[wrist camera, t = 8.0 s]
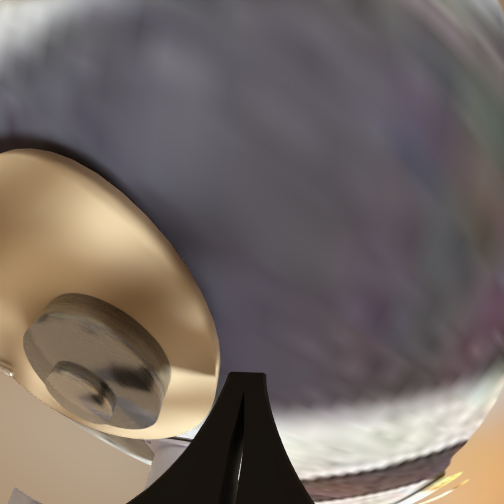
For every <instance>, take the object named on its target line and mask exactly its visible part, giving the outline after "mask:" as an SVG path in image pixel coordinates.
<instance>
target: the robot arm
mask: <svg viewBox="0 0 504 504" xmlns="http://www.w3.org/2000/svg"><path fill="white" fill-rule="evenodd" d="M143 440H144V441H145V443H146V444H147V445H148V447H149V448H150V449H151V451H152V452H153V453H154V457H153V461H152V465H151V468H150V472H149V475H148V479H147V482H146V486H145V490H144V491H143V492H142V493H140V494H139V495H138V496H136V497H135V498H134V499H132V500H131V501H129V502H128V503H127V504H315V503H314V502H313V500H312V499H311V497H310V496H309V494H308V493H307V491H306V489H305V488H304V486H303V484H302V483H301V481H300V479H299V477H298V476H297V474H296V472H295V470H294V468H293V466H292V464H291V462H290V460H289V458H288V455H287V453H286V451H285V449H284V446H283V444H282V441H281V438H280V436H279V433H278V430H277V427H276V424H275V421H274V418H273V414H272V411H271V407H270V403H269V398H268V393H267V386H266V374H264V373H251V372H230V373H229V374H228V377H227V380H226V382H225V385H224V387H223V389H222V391H221V393H220V395H219V397H218V400H217V402H216V403H215V405H214V407H213V409H212V411H211V412H210V414H209V416H208V418H207V419H206V421H205V422H204V424H203V425H202V427H201V428H200V430H199V431H198V433H197V434H196V436H195V437H194V439H193V440H192V441H191V442H187V441H180V440H174V439H168V438H163V439H143ZM242 453H243V454H242ZM241 458H242V462H241ZM240 463H241V469H240ZM239 469H240V476H239V483H238V475H239ZM237 485H238V490H237ZM8 504H41V503H40V502H38V501H35V500H34V499H32V498H30V497H29V496H27V495H26V494H24V493H23V492H21V491H19V490H18V489H17V488H14V490H13V492H12V494H11V497H10V499H9V502H8Z"/></svg>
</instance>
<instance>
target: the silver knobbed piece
mask: <svg viewBox="0 0 504 504" xmlns="http://www.w3.org/2000/svg"><path fill="white" fill-rule="evenodd" d="M0 372H1V373H3V374H5V375H7V376H10V377H13V376H14V372H13V370H12V369H9V368H7V367H5V366H3V365H0Z"/></svg>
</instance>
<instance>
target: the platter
mask: <svg viewBox="0 0 504 504" xmlns="http://www.w3.org/2000/svg"><path fill="white" fill-rule="evenodd" d="M67 293H79V294H85V295H89V296H93V297H96V298H98V299H101V300H103V301H106V302H108V303H110V304H112V305H114V306H115V307H117V308H119V309H120V310H122V311H124V312H125V313H126V314H128V315H129V316H131V317H132V318H133V319H135V320H136V321H137V322H138V323H140V324H141V325H142V326H143V327H144V328H145V329H146V330H147V331H148V332H149V333H150V334H151V335H152V336H153V337H154V338H155V339H156V341H157V342H158V343H159V345H160V346H161V347H162V349H163V351H164V352H165V354H166V356H167V358H168V360H169V363H170V367H171V380H170V383H169V386H168V389H167V392H166V395H165V398H164V401H163V405H162V408H161V411H160V414H159V417H158V420H157V421H156V423H155V424H154V425H152V426H151V427H148V428H145V429H137V430H133V429H123V428H118V427H114V426H110V425H107V424H104V425H99V424H94V423H91V422H88V421H85V420H83V419H81V418H79V417H77V416H75V415H74V414H72V413H71V412H69V411H68V410H66V409H65V408H64V407H62V406H61V405H60V404H59V403H58V402H57V401H56V400H55V399H54V398H53V397H52V396H51V395H50V393H49V392H48V390H47V388H46V386H45V384H44V383H43V381H42V380H41V379H40V378H39V377H38V375H37V374H36V373H35V371H34V370H33V368H32V366H31V365H30V363H29V361H28V359H27V357H26V354H25V351H24V347H23V336H24V333H25V332H26V330H27V329H28V328H29V327H30V325H31V324H32V323H33V322H34V321H35V319H36V318H37V317H38V316H39V315H40V314H41V312H42V311H43V310H44V309H45V308H46V307H47V306H48V304H49V303H50V302H51V301H52V300H53V299H54V298H56V297H57V296H60V295H62V294H67ZM220 360H221V359H220V348H219V339H218V336H217V332H216V328H215V324H214V320H213V317H212V315H211V313H210V310H209V308H208V306H207V303H206V301H205V298H204V296H203V294H202V292H201V290H200V289H199V287H198V285H197V283H196V282H195V280H194V278H193V276H192V274H191V273H190V271H189V269H188V268H187V266H186V265H185V263H184V262H183V261H182V259H181V258H180V256H179V255H178V253H177V252H176V251H175V249H174V248H173V246H172V245H171V243H170V242H169V241H168V240H167V239H166V237H165V236H164V235H163V234H162V233H161V232H160V231H159V229H158V228H157V227H156V226H155V225H154V224H153V222H152V221H151V220H150V219H149V218H148V217H147V215H146V214H144V213H143V212H142V211H141V210H140V209H139V208H138V207H137V206H136V205H135V204H134V203H133V202H132V201H131V200H130V199H129V198H128V197H126V196H125V195H124V194H123V193H122V192H121V191H120V190H118V189H117V188H116V187H114V186H113V185H112V184H110V183H109V182H108V181H106V180H105V179H104V178H103V177H101V176H100V175H99V174H97V173H95V172H94V171H92V170H90V169H88V168H87V167H85V166H83V165H81V164H80V163H78V162H76V161H74V160H72V159H70V158H67V157H64V156H62V155H59V154H56V153H54V152H51V151H45V150H39V149H33V148H26V149H13V150H10V151H7V152H4V153H0V365H3V366H5V367H7V368H9V369H12V370H13V372H14V376H13V378H14V379H15V380H16V381H17V382H19V384H21V385H22V386H23V387H24V388H25V389H26V390H28V391H29V392H30V393H31V394H33V395H34V396H35V397H37V398H38V399H39V400H41V401H42V402H44V403H45V404H47V405H48V406H50V407H51V408H53V409H54V410H56V411H58V412H59V413H61V414H63V415H65V416H66V417H68V418H70V419H72V420H74V421H76V422H78V423H81V424H83V425H85V426H88V427H90V428H93V429H96V430H99V431H102V432H105V433H108V434H112V435H117V436H121V437H127V438H133V439H163V438H169V437H174V436H177V435H180V434H183V433H185V432H187V431H189V430H191V429H193V428H195V427H196V426H197V425H198V424H199V423H200V422H202V421H203V420H204V418H205V417H206V415H207V414H208V413H209V411H210V409H211V406H212V404H213V401H214V398H215V393H216V388H217V382H218V377H219V369H220Z"/></svg>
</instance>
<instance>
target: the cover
mask: <svg viewBox="0 0 504 504" xmlns="http://www.w3.org/2000/svg"><path fill="white" fill-rule="evenodd" d="M23 347H24V351H25V354H26V357H27V359H28V361H29V363H30V365H31V366H32V368H33V370H34V371H35V373H36V374H37V375H38V377H39V378H40V379H41V380H42V381H43V383H44V384H45V386H46V388H47V390H48V392H49V393H50V395H51V396H52V397H53V398H54V399H55V400H56V401H57V402H58V403H59V404H60V405H61V406H62V407H64V408H65V409H66V410H68V411H69V412H71V413H72V414H74V415H75V416H77V417H79V418H81V419H83V420H85V421H88V422H91V423H94V424H99V425H104V424H107V425H110V426H114V427H118V428H123V429H133V430H137V429H145V428H148V427H151V426H152V425H154V424H155V423H156V421H157V420H158V417H159V414H160V411H161V408H162V405H163V401H164V398H165V395H166V392H167V389H168V386H169V383H170V380H171V367H170V363H169V360H168V358H167V356H166V354H165V352H164V351H163V349H162V347H161V346H160V345H159V343H158V342H157V341H156V339H155V338H154V337H153V336H152V335H151V334H150V333H149V332H148V331H147V330H146V329H145V328H144V327H143V326H142V325H141V324H140V323H138V322H137V321H136V320H135V319H133V318H132V317H131V316H129V315H128V314H126V313H125V312H124V311H122V310H120V309H119V308H117V307H115V306H114V305H112V304H110V303H108V302H106V301H103V300H101V299H98V298H96V297H93V296H89V295H85V294H79V293H67V294H62V295H60V296H57V297H56V298H54V299H53V300H52V301H51V302H50V303H49V304H48V306H47V307H46V308H45V309H44V310H43V311H42V312H41V314H40V315H39V316H38V317H37V318H36V319H35V321H34V322H33V323H32V324H31V325H30V327H29V328H28V329H27V330H26V332H25V333H24V336H23Z"/></svg>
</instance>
